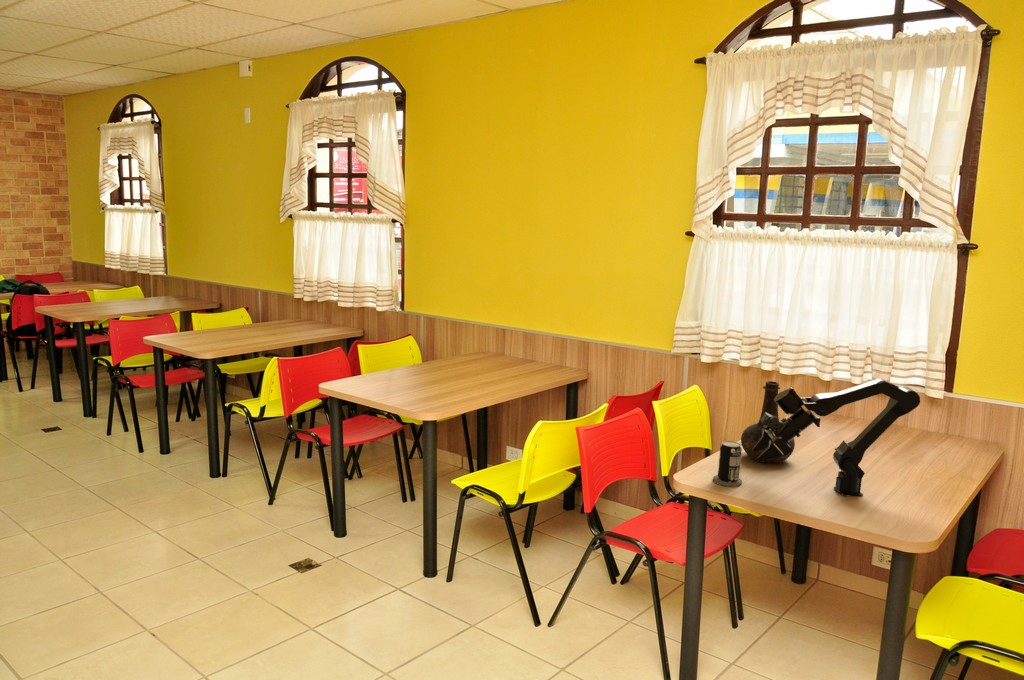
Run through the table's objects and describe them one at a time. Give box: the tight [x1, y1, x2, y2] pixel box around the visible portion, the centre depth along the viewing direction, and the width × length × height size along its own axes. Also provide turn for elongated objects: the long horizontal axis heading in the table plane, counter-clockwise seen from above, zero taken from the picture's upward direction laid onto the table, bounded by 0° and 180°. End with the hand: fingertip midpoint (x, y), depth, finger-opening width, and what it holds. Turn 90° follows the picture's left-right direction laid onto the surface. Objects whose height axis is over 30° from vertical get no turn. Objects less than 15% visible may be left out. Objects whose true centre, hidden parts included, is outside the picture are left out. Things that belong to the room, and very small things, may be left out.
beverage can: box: [717, 440, 743, 482], centre depth 246 cm, size 7×7×12 cm
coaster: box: [712, 474, 743, 487], centre depth 247 cm, size 9×9×1 cm
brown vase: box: [740, 380, 796, 464], centre depth 270 cm, size 18×18×28 cm
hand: (755, 455), depth 245 cm, fingers open, 9 cm apart
